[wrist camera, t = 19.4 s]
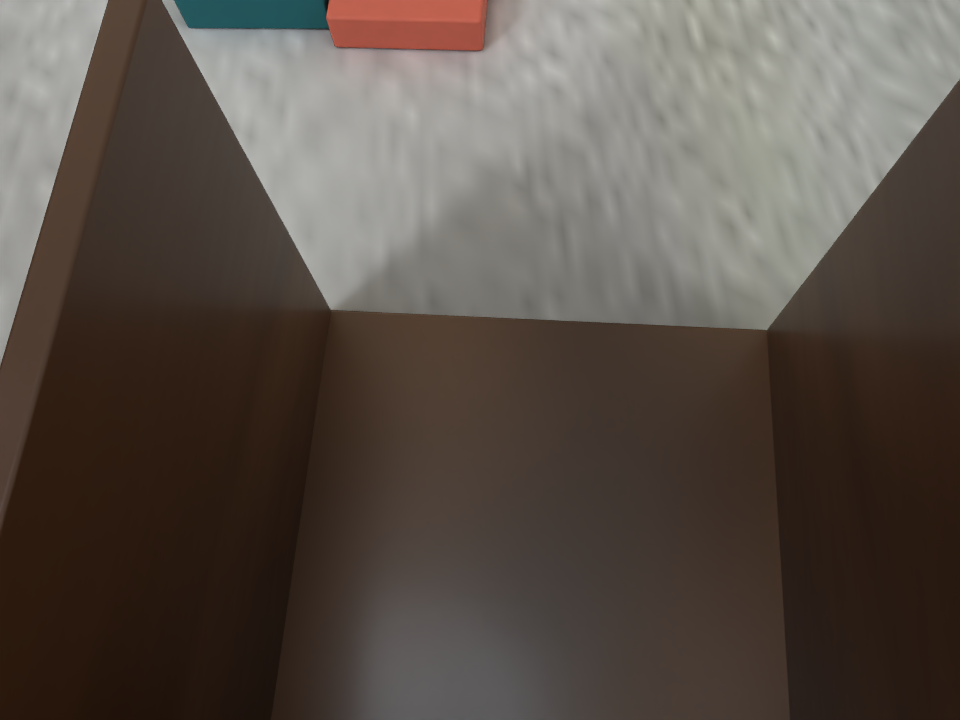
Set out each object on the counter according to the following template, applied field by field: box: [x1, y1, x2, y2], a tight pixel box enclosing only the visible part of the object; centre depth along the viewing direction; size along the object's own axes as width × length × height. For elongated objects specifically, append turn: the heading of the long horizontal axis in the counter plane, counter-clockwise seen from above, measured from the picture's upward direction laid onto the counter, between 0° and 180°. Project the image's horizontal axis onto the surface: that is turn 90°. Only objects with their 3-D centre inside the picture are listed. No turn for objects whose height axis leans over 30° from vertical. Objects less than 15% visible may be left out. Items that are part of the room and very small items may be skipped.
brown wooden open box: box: [0, 0, 960, 720], centre depth 13 cm, size 12×11×11 cm
